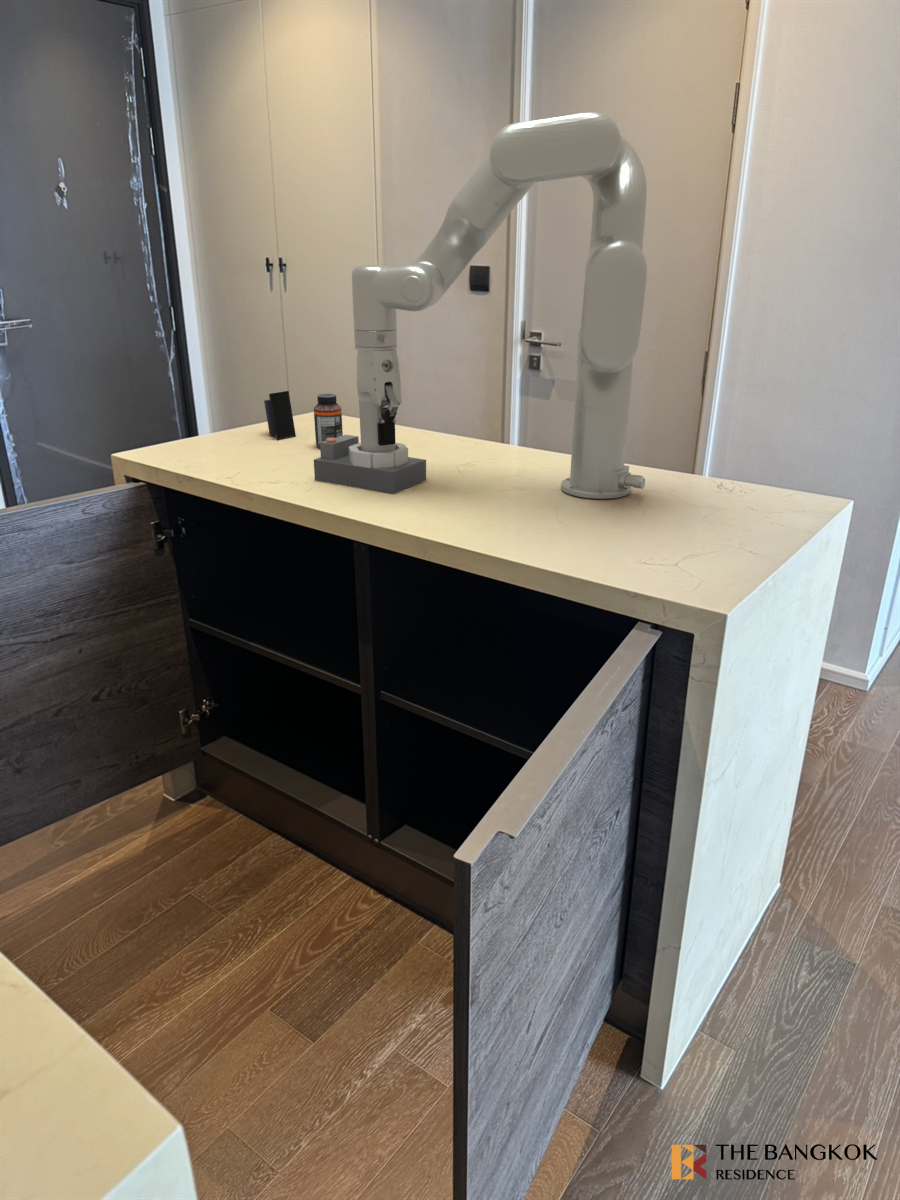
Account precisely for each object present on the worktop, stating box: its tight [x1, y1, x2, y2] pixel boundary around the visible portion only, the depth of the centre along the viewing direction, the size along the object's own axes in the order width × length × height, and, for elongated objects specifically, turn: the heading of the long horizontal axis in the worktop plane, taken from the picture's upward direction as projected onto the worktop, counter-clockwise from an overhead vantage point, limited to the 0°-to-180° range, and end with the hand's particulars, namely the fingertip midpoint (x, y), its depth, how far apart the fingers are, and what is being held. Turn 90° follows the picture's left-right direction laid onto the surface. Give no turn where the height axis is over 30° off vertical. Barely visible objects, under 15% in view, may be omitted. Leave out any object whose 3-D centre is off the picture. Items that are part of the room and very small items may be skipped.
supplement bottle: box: [313, 393, 344, 449], centre depth 187 cm, size 6×6×11 cm
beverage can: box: [358, 392, 397, 453], centre depth 158 cm, size 6×6×12 cm
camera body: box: [313, 434, 427, 495], centre depth 162 cm, size 18×11×8 cm, turn 59°
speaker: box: [263, 390, 297, 441], centre depth 197 cm, size 8×6×10 cm
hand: (379, 440), depth 159 cm, fingers closed on beverage can, 6 cm apart
